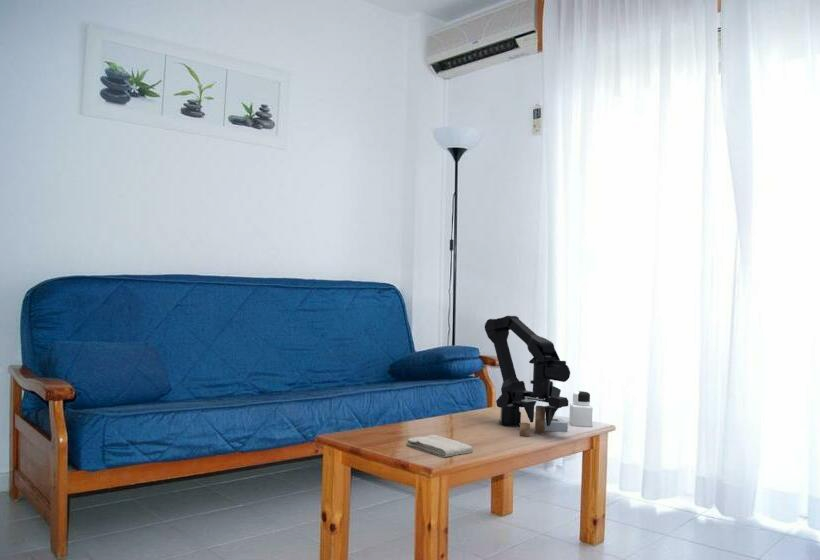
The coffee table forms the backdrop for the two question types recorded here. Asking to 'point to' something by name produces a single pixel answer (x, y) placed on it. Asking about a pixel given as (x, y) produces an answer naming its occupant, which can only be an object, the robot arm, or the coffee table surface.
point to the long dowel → (540, 420)
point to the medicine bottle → (581, 410)
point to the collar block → (557, 425)
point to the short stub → (525, 429)
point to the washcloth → (439, 445)
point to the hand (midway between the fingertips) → (539, 424)
